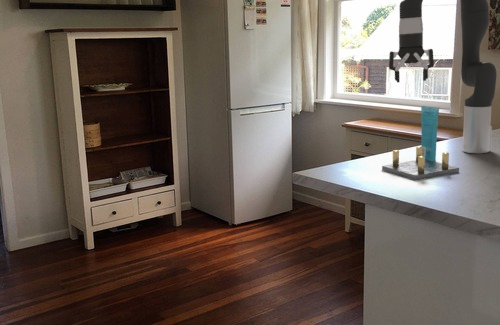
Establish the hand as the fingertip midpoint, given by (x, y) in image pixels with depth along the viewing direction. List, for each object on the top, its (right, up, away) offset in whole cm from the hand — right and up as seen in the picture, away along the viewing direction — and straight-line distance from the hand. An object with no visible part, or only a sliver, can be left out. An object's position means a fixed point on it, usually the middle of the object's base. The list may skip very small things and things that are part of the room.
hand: (411, 81), depth 181 cm
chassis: (+1, -30, -5) cm, 31 cm away
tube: (+9, -27, +9) cm, 30 cm away
